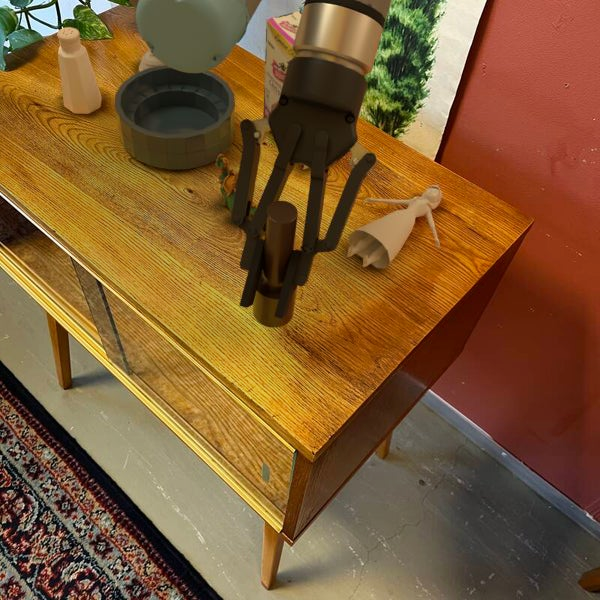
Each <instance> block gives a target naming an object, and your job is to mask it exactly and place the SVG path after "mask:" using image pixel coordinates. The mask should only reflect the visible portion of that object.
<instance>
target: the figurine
mask: <svg viewBox="0 0 600 600" xmlns="http://www.w3.org/2000/svg"><path fill="white" fill-rule="evenodd" d="M220 156H221V157H220ZM219 157H220V158H219ZM229 165H230V162H229V160H228V159H227V157H225V154H220V155H219V156H218V157H217V159H216V160H215V166H216V167H219V175H218V179H217V178H214V181H215V182H216V183H217V184H218V185H219V184H220V188H219V191H220V193H221V196H222V198H223V202H222V203H220V206H223V207H225V206H227V207H228V210H229V212H230V213H231V214H232V210H233V204H234V198H235V192H236V186H237V179H238V173H239V170H238V171H237V172H236V173H234V170H233V168H231V167H228V166H229ZM253 196H255V193H254V195H253ZM256 208H257V206H256V203H255V201H254V200H253V201H252V207H251V213H250V214H252V215H254V213H255V211H256ZM229 220H230V222H232V221H231V218H229Z"/></svg>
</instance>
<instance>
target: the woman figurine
mask: <svg viewBox="0 0 600 600" xmlns="http://www.w3.org/2000/svg"><path fill="white" fill-rule="evenodd" d="M442 198H443V191H442V190H441V188H440V187H439V185H437V184H432V185H429V186H428V187H427V188H426V189H425V191H424V192H423V193H422V195H421V196H419V195H417V196H413V198H410V199H394V198H391V199H390V198H389V199H388V198H383V199H382V198H374V197H366V198H364V202H365V203H366V204H369V203H370V204H375V203H379V204H380V203H381V204H388V205H396V206H407V208H403V209H397V210H394V211H392V212H389V213H387V214H386V215H384V216H382V217H380V218H378V219H375V220H373V221H371V222H369V223H367V224H364V225H363V226H360V227H358V228H356V229H354V230H353V231H352V232H351V233H350V234H349V235H348V240H349V243H348V244H349V247H348V249H347V257H348V258H350V257H352V256H354V255H357V256H359V257H360V258H362V262H363V263H362V267H363V268H366V267H368V266H369V265H372V266H373V267H375V268H376V269H385V270H386V269H387V268H388V266H389V265H390V264H391V263H392V261H393V260H394V259H395V258H396V256H397V255H398V254H399V252H400V251H401V250H402V248H403V246H404V244H405V243H406V241H407V240H408V238H409V236H410V234H411V233H412V231H413V229H414V226H415V223H416V218H419V217H426V220H427V222H428V226H429V228H430V230H431V232H432V235H433V238H434V243H435V245H436V246H435V248H440V245H441V243H440V240H439V238H438V233H437V230H436V224H435V221H434V217H433V210H435V209H437V207H438V206H439V205H440V204H441V201H442Z"/></svg>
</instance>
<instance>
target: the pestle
mask: <svg viewBox="0 0 600 600" xmlns="http://www.w3.org/2000/svg"><path fill="white" fill-rule="evenodd" d="M298 216H299V210H298V208H297V207H296V205H294V204H293V203H292V202H290V201H288V200H287V201H286V200H279V201H275V202H273V203H271V204H270V205H269V206H268V208H267V211H266V226H265V236H264V240H265V242H264V258H263V269H262V273H261V277H260V280H259V284H258V288H257V291H256V295H255V299H254V302H253V305H252V315H253V317H254V319H255V320H256V321H257V322H258V323H259V324H260V325H262V326H263V327H267V328H272V329H278V328H282V327H285V326H286V325H288V324H289V323H290V322H291V321H292V319H293V318H294V315H295V307H296V300H297V293H298V287H299V286H298V285H295V287H294V290H293V294H292V297H291V301H290V305H289V308H288V312H287V315H286V316H285V317H283V318H282V319H281V318H278V317H275V316H274V315H275V312H276V308H277V305H278V301H279V297H280V294H281V290H282V287H283V283H284V279H285V276H286V272H287V268H288V265H289V261H290V258H291V254H292V250H295V244H296V235H297V233H296V232H297V225H298Z"/></svg>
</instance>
